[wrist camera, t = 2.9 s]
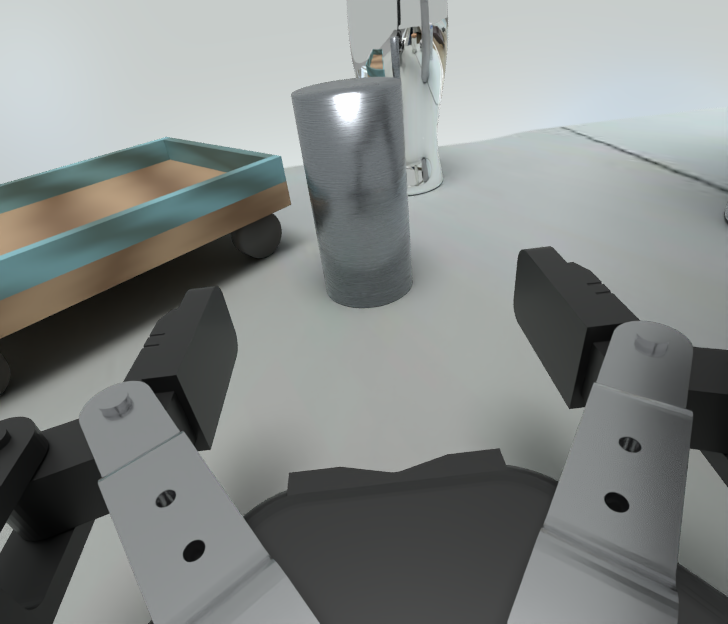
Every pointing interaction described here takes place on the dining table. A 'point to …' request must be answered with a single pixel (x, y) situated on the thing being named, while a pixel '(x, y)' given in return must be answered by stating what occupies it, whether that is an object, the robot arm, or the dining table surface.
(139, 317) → the dining table surface
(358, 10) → the beer glass
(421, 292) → the dining table surface
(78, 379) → the dining table surface
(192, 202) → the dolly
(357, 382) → the dining table surface
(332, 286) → the metal part
